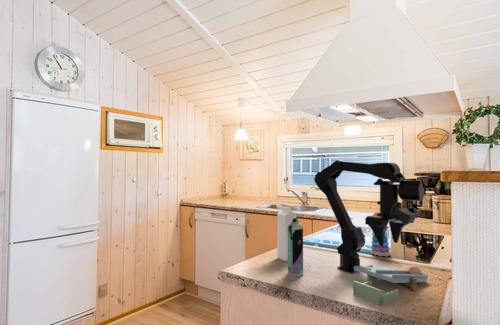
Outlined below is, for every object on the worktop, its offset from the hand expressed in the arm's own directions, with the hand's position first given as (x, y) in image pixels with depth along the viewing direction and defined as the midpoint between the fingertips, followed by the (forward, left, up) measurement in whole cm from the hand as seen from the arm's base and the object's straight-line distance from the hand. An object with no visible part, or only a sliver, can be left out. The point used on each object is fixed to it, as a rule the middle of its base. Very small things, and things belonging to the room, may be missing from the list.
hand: (388, 244), depth 103 cm
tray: (+6, -16, -12) cm, 21 cm away
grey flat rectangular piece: (+2, -2, -9) cm, 10 cm away
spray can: (-22, -23, -12) cm, 34 cm away
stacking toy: (-19, +25, -12) cm, 34 cm away
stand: (+2, -2, -12) cm, 12 cm away
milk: (-38, -13, -12) cm, 42 cm away
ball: (+6, +6, -8) cm, 12 cm away
